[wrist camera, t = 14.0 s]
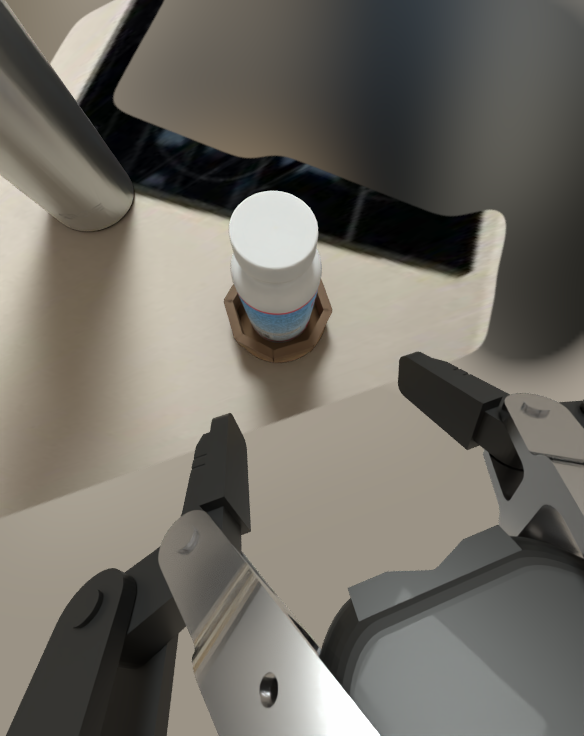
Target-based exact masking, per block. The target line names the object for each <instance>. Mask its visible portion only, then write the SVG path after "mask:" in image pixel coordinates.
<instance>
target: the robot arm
mask: <svg viewBox="0 0 584 736" xmlns="http://www.w3.org/2000/svg"><path fill="white" fill-rule="evenodd" d="M0 175H1V176H2V177H4V178H5V179H6V180H8V181H9V182H10V183H11V184H13V185H14V186H15V187H16V188H17V189H19V190H20V191H21V192H23V193H24V194H25V195H26V196H28V197H29V198H30V199H32V200H33V201H34V202H35V203H37V204H38V205H39V206H41V207H42V208H43V209H44V210H46V211H47V212H48V213H49V214H51V215H52V216H53V217H55V218H56V219H57V220H58V221H60V222H61V223H62V224H64V225H65V226H67V227H69V228H72V229H75V230H80V231H95V230H101V229H104V228H107V227H109V226H111V225H113V224H114V223H116V222H117V221H119V220H120V219H121V218H122V217H123V216H124V215H125V214H126V213H127V211H128V210H129V208H130V206H131V204H132V200H133V196H134V189H133V185H132V182H131V180H130V178H129V176H128V175H127V173H126V172H125V170H124V169H123V168H122V166H121V165H120V163H119V162H118V160H117V159H116V158H115V156H114V155H113V153H112V152H111V151H110V149H109V148H108V146H107V145H106V143H105V142H104V141H103V139H102V138H101V136H100V135H99V133H98V132H97V130H96V129H95V128H94V126H93V125H92V123H91V122H90V120H89V119H88V118H87V116H86V115H85V113H84V112H83V110H82V109H81V108H80V106H79V105H78V103H77V102H76V101H75V99H74V98H73V96H72V95H71V93H70V92H69V91H68V89H67V88H66V86H65V85H64V83H63V82H62V81H61V79H60V78H59V76H58V75H57V74H56V72H55V71H54V69H53V68H52V66H51V65H50V64H49V62H48V61H47V59H46V58H45V57H44V55H43V54H42V52H41V51H40V50H39V48H38V47H37V45H36V44H35V42H34V41H33V39H32V38H31V37H30V35H29V34H28V32H27V31H26V30H25V28H24V27H23V25H22V24H21V23H20V21H19V20H18V18H17V17H16V15H15V14H14V13H13V11H12V10H11V8H10V7H9V5H8V4H7V3H6V1H5V0H0ZM398 386H399V389H400V391H401V393H402V394H403V395H404V396H405V397H406V398H407V399H408V400H409V401H411V402H412V403H413V404H414V405H415V406H416V407H417V408H419V409H420V410H421V411H422V412H423V413H424V414H426V415H427V416H428V417H429V418H430V419H431V420H433V421H434V422H435V423H436V424H437V425H438V426H440V427H441V428H442V429H443V430H444V431H446V432H447V433H448V434H449V435H450V436H451V437H453V438H454V439H455V440H456V441H457V442H458V443H460V444H461V445H462V446H463V447H464V448H465V449H467V450H469V449H471V448H474V447H477V446H479V445H480V446H481V447H483V448H484V452H483V456H484V459H485V462H486V466H487V469H488V472H489V475H490V478H491V482H492V484H493V488H494V491H495V494H496V497H497V500H498V504H499V510H500V513H499V525H496V526H494V527H491V528H489V529H487V530H484V531H482V532H480V533H477V534H475V535H472V536H470V537H468V538H465V539H463V540H462V541H461V542H460V543H459V544H458V546H457V547H456V548H455V549H454V550H453V551H452V552H451V553H450V554H449V555H448V556H447V558H446V559H445V560H444V561H443V562H442V563H441V564H440V565H439V566H438V567H437V568H436V569H434V570H425V571H396V572H395V571H394V572H385V573H382V574H380V575H378V576H376V577H373V578H371V579H368V580H366V581H364V582H361V583H359V584H356V585H354V586H352V587H350V588H348V591H349V594H350V599H349V600H348V601H347V602H346V603H345V604H344V605H343V606H342V608H341V609H340V610H339V612H338V613H337V615H336V616H335V618H334V620H333V621H332V624H331V625H330V627H329V630H328V632H327V634H326V637H325V639H324V643H323V645H322V649H321V648H320V646H319V645H318V644H317V643H316V642H315V640H314V639H313V638H312V637H311V635H310V634H309V633H308V632H307V630H305V628H304V627H303V626H302V624H301V623H300V622H299V621H298V619H297V618H296V617H295V616H294V615H293V613H292V612H291V611H290V610H289V609H288V607H287V606H286V605H285V604H284V603H283V602H282V600H281V599H280V598H279V597H278V595H277V594H276V593H275V592H274V591H273V589H272V588H271V587H270V586H269V584H268V583H267V582H266V581H265V579H264V578H263V577H262V576H261V574H259V572H258V571H257V570H256V568H255V567H254V566H253V565H252V563H251V562H250V561H249V560H248V558H247V557H246V556H245V555H244V553H243V552H242V551H241V535H243V534H245V533H248V532H250V531H251V526H250V506H249V485H248V465H247V447H246V443H245V439H244V437H243V435H242V433H241V431H240V429H239V427H238V425H237V423H236V421H235V419H234V417H233V415H232V414H231V413H228V414H225V415H222V416H219V417H216V418H213V419H212V423H211V430H210V432H209V433H206V434H203V436H202V438H201V439H200V441H199V442H198V444H197V446H196V450H195V454H194V460H193V464H192V471H191V474H190V478H189V483H188V488H187V492H186V497H185V502H184V506H183V511H182V515H181V517H180V518H179V519H178V520H177V521H176V522H175V523H174V524H173V525H172V526H171V527H170V529H169V530H168V532H167V533H166V535H165V537H164V539H163V541H162V543H161V546H160V547H159V548H157V549H156V550H155V551H154V552H152V553H151V554H149V555H148V556H147V557H145V558H144V559H143V560H141V561H140V562H139V563H137V564H136V565H134V566H133V567H132V568H130V569H129V570H128V571H126V572H125V573H124V572H122V571H120V570H118V569H115V568H111V569H107V570H104V571H102V572H100V573H98V574H97V575H95V576H94V577H93V578H91V579H90V580H89V581H88V582H87V583H86V584H85V585H84V586H82V588H81V589H80V590H79V591H78V592H77V593H76V594H75V595H74V597H73V598H72V599H71V601H70V602H69V603H68V605H67V606H66V608H65V609H64V611H63V613H62V615H61V616H60V618H59V620H58V622H57V624H56V627H55V629H54V631H53V633H52V635H51V637H50V640H49V642H48V644H47V646H46V648H45V651H44V653H43V655H42V657H41V659H40V662H39V664H38V666H37V668H36V670H35V673H34V675H33V677H32V679H31V682H30V684H29V686H28V688H27V690H26V693H25V695H24V697H23V699H22V701H21V704H20V706H19V708H18V710H17V713H16V715H15V717H14V719H13V721H12V723H11V726H10V728H9V730H8V732H7V735H6V736H167V727H168V718H169V709H170V701H171V693H172V683H173V676H174V667H175V659H176V650H177V642H178V633H179V632H180V631H181V630H182V629H184V627H186V626H187V628H188V631H189V633H190V635H191V637H192V640H193V643H194V647H195V652H194V654H193V657H192V665H193V670H194V674H195V678H196V681H197V683H198V686H199V688H200V691H201V693H202V696H203V698H204V701H205V703H206V706H207V708H208V710H209V712H210V715H211V718H212V720H213V723H214V725H215V727H216V730H217V732H218V735H219V736H584V400H583V401H572V402H559V403H558V402H556V401H554V400H552V399H549V398H547V397H544V396H540V395H536V394H529V393H516V394H511V395H510V394H508V393H506V392H504V391H502V390H500V389H498V388H496V387H494V386H492V385H490V384H488V383H487V382H485V381H483V380H481V379H479V378H477V377H475V376H473V375H471V374H470V375H469V374H468V373H467V372H465V371H463V370H461V369H458V367H455V366H454V365H452V364H450V363H448V362H445V361H442V360H438V359H434V358H431V357H429V356H427V355H425V354H423V353H421V352H415V353H412V354H409V355H406V356H403V357H401V358H400V360H399V375H398Z"/></svg>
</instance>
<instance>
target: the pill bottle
mask: <svg viewBox="0 0 584 736" xmlns="http://www.w3.org/2000/svg"><path fill="white" fill-rule="evenodd" d="M229 237H230V241H231V245H232V248H233V255H232V259H231V276H232V280H233V283H234V285H235V288H236V290H237V293H238V295H239V297H240V299H241V302H242V304H243V306H244V308H245V311H246V313H247V315H248V317H249V319H250V321H251V324H252V326H253V328H254V329H255V331H256V332H257V333H258V334H259V335H260V336H261V337H263V338H264V339H266V340H268V341H271V342H276V343H283V342H288V341H291V340H293V339H295V338H296V337H298V336H299V335H300V334H301V333H303V331H304V330H305V329H306V327H307V325H308V323H309V320H310V316H311V313H312V309H313V305H314V302H315V298H316V295H317V291H318V287H319V284H320V280H321V274H322V264H321V258H320V255H319V252H318V250H317V239H318V225H317V221H316V218H315V216H314V214H313V212H312V211H311V209H310V208H309V207H308V206H307V205H306V204H305V203H304V202H303V201H302V200H300V199H299V198H297V197H295V196H294V195H291V194H289V193H285V192H280V191H265V192H260V193H257V194H254V195H252V196H250V197H248V198H246V199H245V200H244V201H243V202H241V203H240V204H239V205H238V207H237V208H236V209H235V211H234V212H233V214H232V216H231V219H230V223H229Z"/></svg>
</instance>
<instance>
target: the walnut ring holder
mask: <svg viewBox="0 0 584 736" xmlns="http://www.w3.org/2000/svg"><path fill="white" fill-rule="evenodd" d="M224 304H225V308H226V311H227V315H228V318H229V321H230V325H231V328H232V332H233V335H234V338H235V340H236V341H237V342H238V343H239V345H240V346H242V347H244V348H245V349H246V350H247V351H248V352H250V353H251V354H252V355H254V356H256V357H257V358H260V359H262V360H265V361H269V362H273V363H274V362H275V363H282V362H289V361H293V360H296V359H299V358H301V357H302V356H304V355H306V354H307V353H308V352H311V351H312V350H313V348H314V347H315V346H316V344H317V343H318V341H319V340H320V338H321V336H322V334H323V332H324V329H325V325H326V323H327V321H328V319H329V317H330V315H331V313H332V307H331V305H330V302H329V299H328V296H327V294H326V291H325V288H324V285H323V283H322V280H320V284H319V287H318V291H317V295H316V298H315V302H314V305H313V309H312V313H311V316H310V320H309V323H308V325H307V327H306V329H305V330H304V331H303V333H301V334H300V335H299V336H298V337H296V338H295V339H293V340H291V341H288V342H283V343H276V342H271V341H268V340H266V339H264V338H263V337H261V336H260V335H259V334H258V333H257V332H256V331H255V329H254V328H253V326H252V324H251V321H250V319H249V317H248V315H247V313H246V311H245V308H244V306H243V304H242V302H241V299H240V297H239V295H238V293H237V290H236V288H235V285H234V284H233V286H232V287H231V289H230V291H229V292H228V294H227V295H226V297H225V299H224Z"/></svg>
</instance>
